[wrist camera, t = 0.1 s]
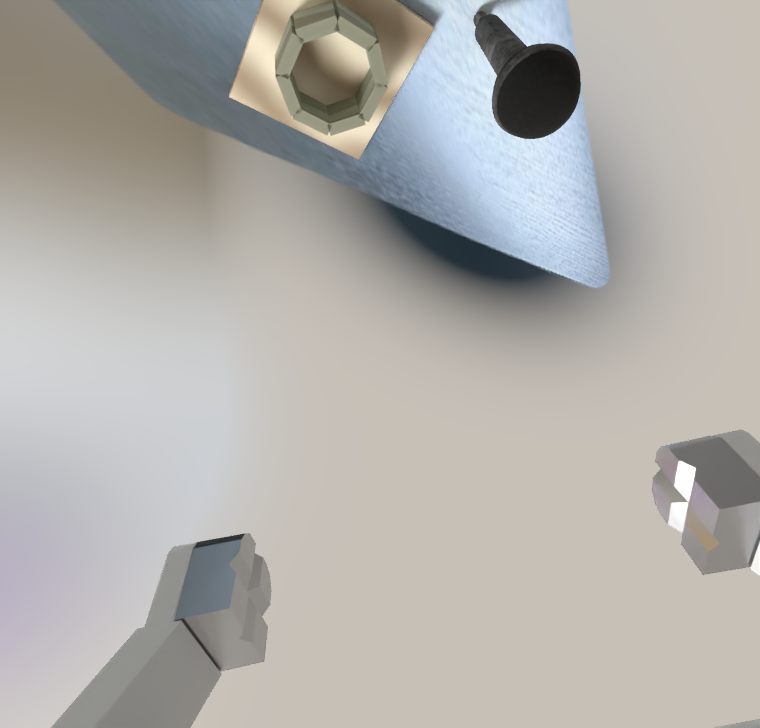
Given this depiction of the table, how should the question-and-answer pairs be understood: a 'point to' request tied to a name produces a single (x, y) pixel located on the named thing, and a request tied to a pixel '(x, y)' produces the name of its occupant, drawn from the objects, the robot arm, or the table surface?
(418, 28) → the socket board
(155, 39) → the table surface
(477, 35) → the microphone
